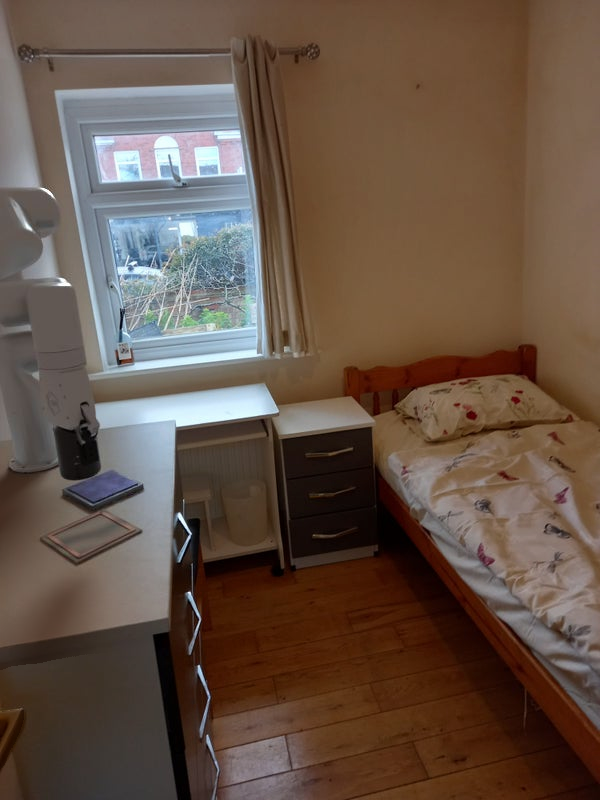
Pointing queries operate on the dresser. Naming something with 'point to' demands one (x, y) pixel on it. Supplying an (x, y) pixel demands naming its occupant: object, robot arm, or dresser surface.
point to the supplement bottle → (73, 455)
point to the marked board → (90, 535)
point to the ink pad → (102, 490)
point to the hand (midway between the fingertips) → (78, 457)
